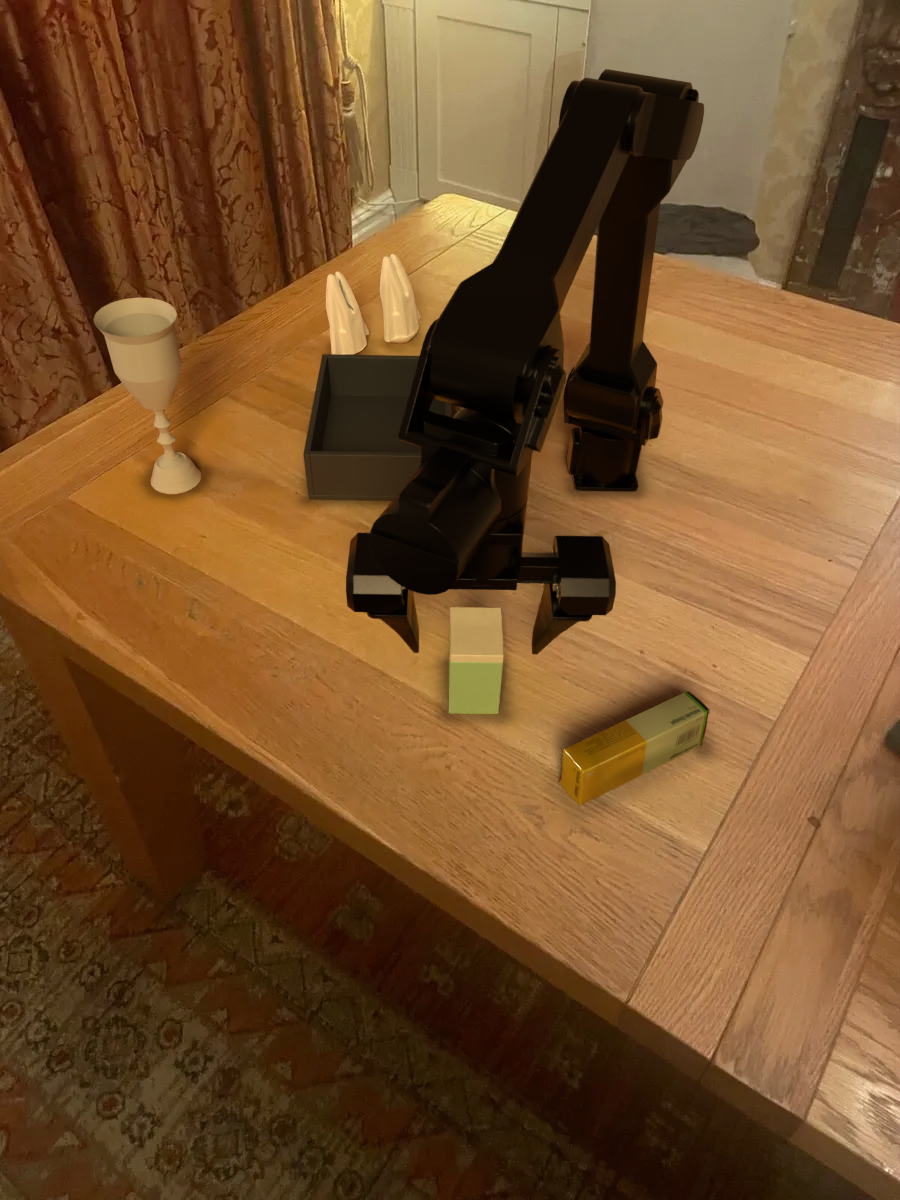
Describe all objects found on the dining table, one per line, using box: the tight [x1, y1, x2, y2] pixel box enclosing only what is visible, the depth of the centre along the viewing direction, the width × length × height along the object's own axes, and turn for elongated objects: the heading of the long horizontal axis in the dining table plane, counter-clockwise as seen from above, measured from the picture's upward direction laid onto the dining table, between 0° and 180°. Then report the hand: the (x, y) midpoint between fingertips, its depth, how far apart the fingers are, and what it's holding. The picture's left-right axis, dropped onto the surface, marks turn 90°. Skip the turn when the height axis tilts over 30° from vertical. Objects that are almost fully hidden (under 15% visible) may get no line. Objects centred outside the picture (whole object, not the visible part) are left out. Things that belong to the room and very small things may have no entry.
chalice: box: [93, 297, 202, 495], centre depth 86 cm, size 7×7×18 cm
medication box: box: [559, 690, 711, 806], centre depth 68 cm, size 12×3×4 cm, turn 119°
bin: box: [302, 353, 453, 502], centre depth 95 cm, size 14×18×6 cm
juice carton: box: [448, 606, 505, 715], centre depth 72 cm, size 4×5×7 cm
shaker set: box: [325, 253, 421, 355], centre depth 108 cm, size 12×4×11 cm, turn 108°
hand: (475, 649), depth 71 cm, fingers open, 9 cm apart
